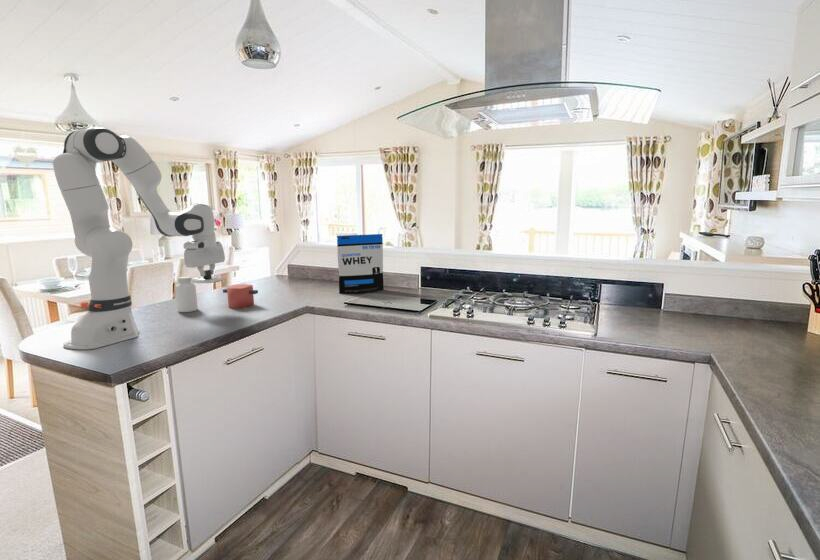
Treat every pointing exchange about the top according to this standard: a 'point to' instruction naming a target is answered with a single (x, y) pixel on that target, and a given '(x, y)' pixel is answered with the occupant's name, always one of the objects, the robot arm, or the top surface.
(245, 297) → the pot
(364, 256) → the protein powder
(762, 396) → the top surface
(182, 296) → the pill bottle
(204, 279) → the lid
